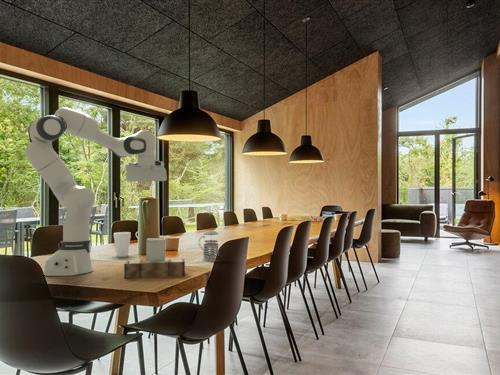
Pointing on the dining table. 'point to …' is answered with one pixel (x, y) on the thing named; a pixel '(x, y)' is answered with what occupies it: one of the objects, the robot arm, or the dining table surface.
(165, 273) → the box
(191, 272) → the dining table surface
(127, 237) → the foam cup
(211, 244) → the french press
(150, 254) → the skincare box
